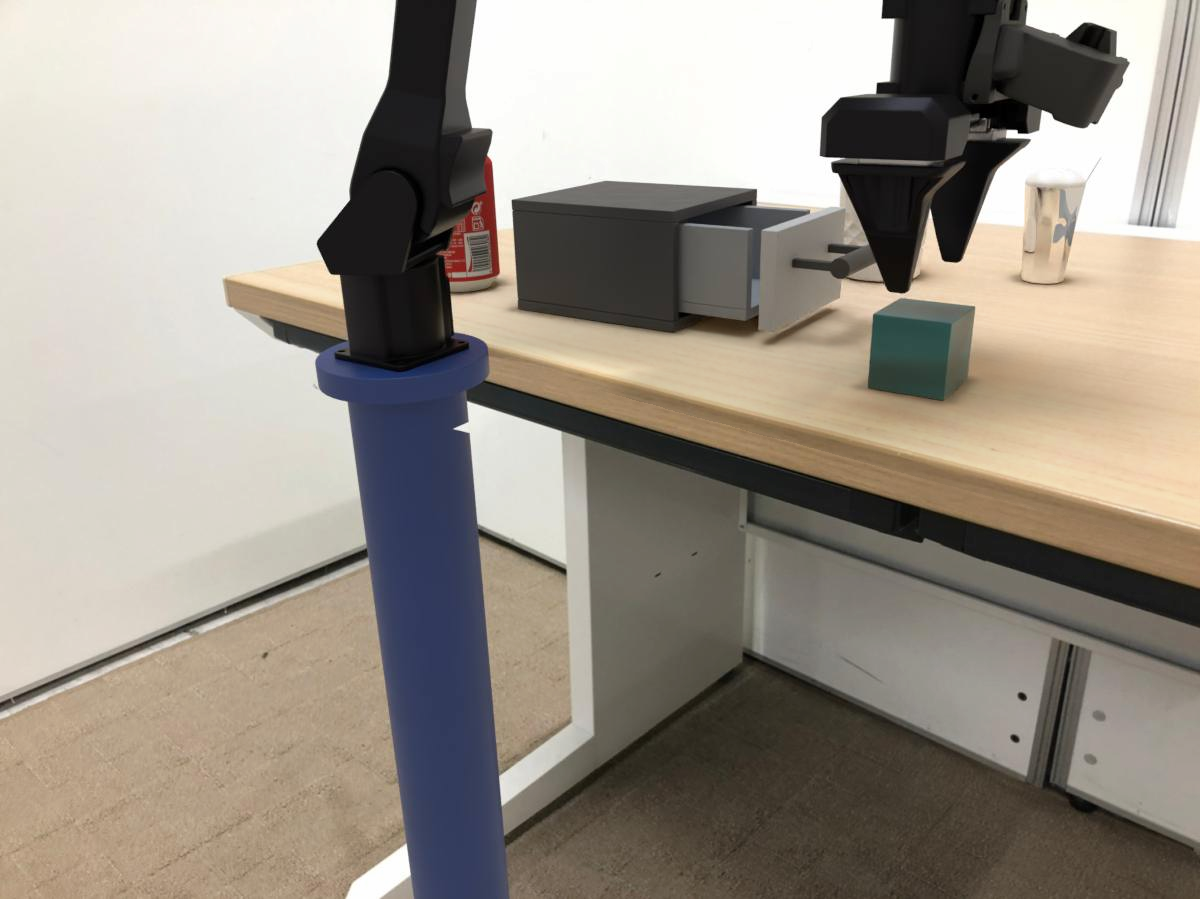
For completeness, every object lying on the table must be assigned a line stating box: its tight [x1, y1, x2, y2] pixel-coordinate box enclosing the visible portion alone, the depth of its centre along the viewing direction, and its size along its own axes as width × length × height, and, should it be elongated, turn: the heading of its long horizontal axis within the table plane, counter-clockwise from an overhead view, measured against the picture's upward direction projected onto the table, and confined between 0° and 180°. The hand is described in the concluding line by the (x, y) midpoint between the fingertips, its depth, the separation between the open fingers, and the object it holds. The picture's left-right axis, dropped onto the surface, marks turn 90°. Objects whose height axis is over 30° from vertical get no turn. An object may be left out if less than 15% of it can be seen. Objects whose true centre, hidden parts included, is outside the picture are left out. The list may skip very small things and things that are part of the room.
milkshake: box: [1020, 157, 1102, 285], centre depth 81 cm, size 5×5×10 cm
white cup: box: [839, 158, 931, 283], centre depth 85 cm, size 8×8×10 cm
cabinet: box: [511, 180, 758, 333], centre depth 78 cm, size 15×13×9 cm
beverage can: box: [437, 154, 501, 293], centre depth 85 cm, size 6×6×12 cm
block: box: [867, 297, 976, 401], centre depth 58 cm, size 4×4×4 cm
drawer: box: [678, 205, 876, 333], centre depth 72 cm, size 18×11×7 cm, turn 55°
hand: (926, 276), depth 56 cm, fingers open, 9 cm apart
